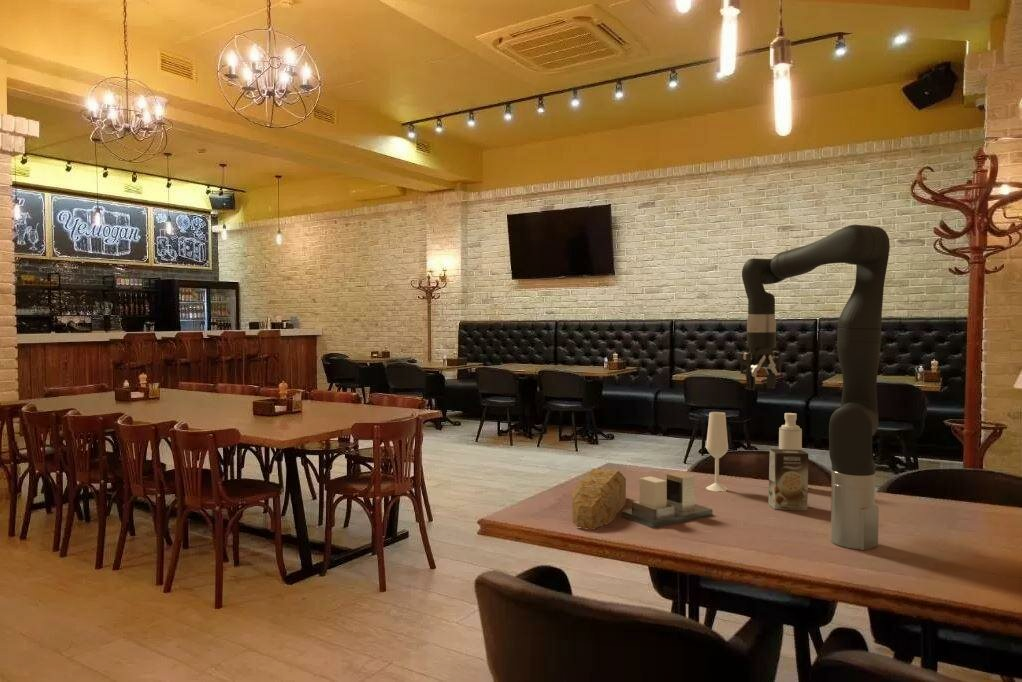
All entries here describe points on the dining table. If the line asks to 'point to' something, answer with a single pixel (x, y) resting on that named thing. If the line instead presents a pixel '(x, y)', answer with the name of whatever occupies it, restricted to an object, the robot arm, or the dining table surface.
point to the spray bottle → (790, 433)
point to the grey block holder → (670, 504)
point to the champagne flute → (717, 444)
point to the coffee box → (788, 479)
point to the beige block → (653, 492)
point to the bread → (598, 498)
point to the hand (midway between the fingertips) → (761, 389)
